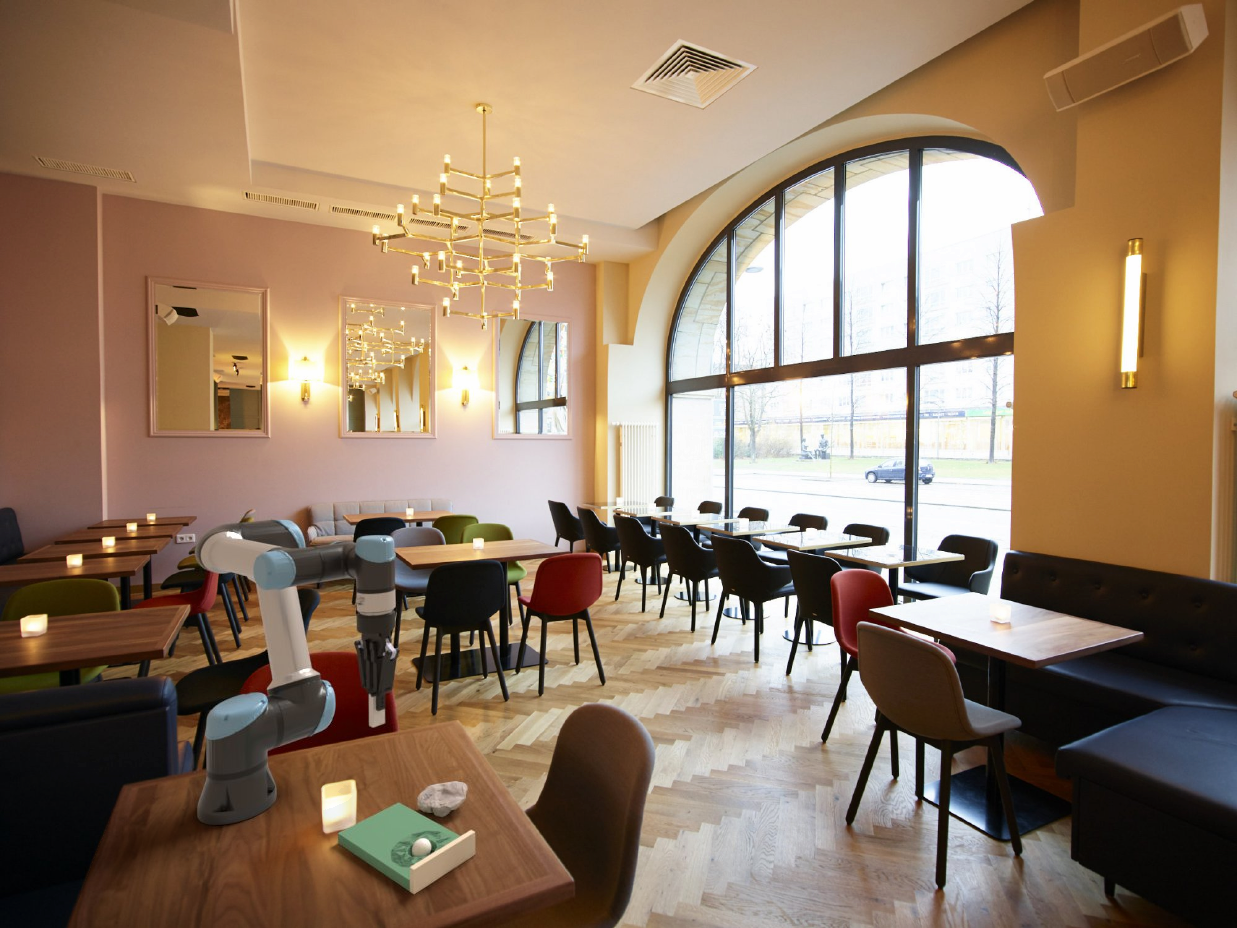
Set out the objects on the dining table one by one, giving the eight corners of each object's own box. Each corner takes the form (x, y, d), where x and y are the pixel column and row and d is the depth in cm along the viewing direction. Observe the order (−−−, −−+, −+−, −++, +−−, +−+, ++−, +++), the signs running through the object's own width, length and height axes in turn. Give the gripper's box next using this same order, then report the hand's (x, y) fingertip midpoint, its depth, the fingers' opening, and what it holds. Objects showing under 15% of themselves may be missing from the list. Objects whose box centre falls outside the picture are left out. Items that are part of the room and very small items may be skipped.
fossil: (459, 808, 134) (418, 788, 135) (449, 833, 135) (408, 813, 136) (474, 783, 143) (435, 765, 144) (464, 807, 144) (425, 789, 144)
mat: (338, 842, 127) (337, 821, 127) (398, 811, 138) (398, 791, 138) (414, 894, 112) (413, 869, 112) (475, 854, 123) (475, 831, 123)
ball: (407, 858, 122) (408, 840, 121) (423, 848, 125) (424, 831, 124) (419, 866, 120) (419, 848, 119) (434, 857, 122) (435, 839, 122)
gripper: (341, 610, 131) (342, 722, 131) (377, 619, 123) (378, 739, 124) (374, 603, 137) (375, 710, 137) (410, 611, 129) (411, 725, 130)
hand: (377, 724), depth 130 cm, fingers closed
